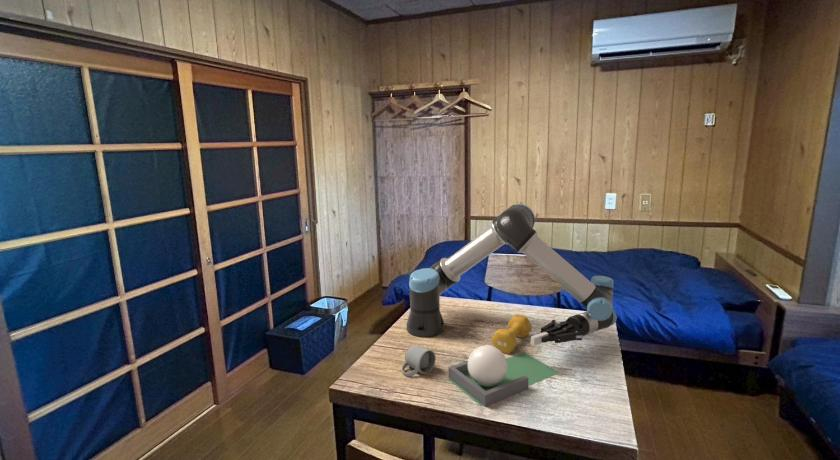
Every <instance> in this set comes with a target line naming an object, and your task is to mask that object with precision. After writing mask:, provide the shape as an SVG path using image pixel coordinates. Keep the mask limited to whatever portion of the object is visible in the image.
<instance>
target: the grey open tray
mask: <svg viewBox="0 0 840 460" xmlns="http://www.w3.org/2000/svg"><path fill="white" fill-rule="evenodd" d="M447 368H448V379H451V380H452V381H454V382H455V383H456V384H457V385H459V386H460V387H461V388H462V389H464V390H465V391H466V392H467V393H469V394H470V395H471V396H472V397H474V398H475V399H476V400H477V401H479V402H480V403H481V404H482V405H481V406H484V407H487V406H490V405H492V404H494V403H497V402H500V401H502V400H504V399H506V398H509V397H511V396H514V395H516V394H517V393H519V394H520V393H521V392H523V391H526V390H528V389H529V386H528V377H526V376H523V377H520V378H518V379H515V380H513V381H510V382H507V383H505V384H502V385H500V386H497V387H495V388H492V389H490V390H487V391H485V390H484V389H482V388H481V387H480V386H478V385H477V384H476V383H474V382H473V381H472V380H470V379H469V378H468V377H466V376H465V374H468V373H469V371H468V360H466V361H462V362H460V363H457V364H454V365H451V366H448V367H447Z"/></svg>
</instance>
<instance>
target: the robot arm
mask: <svg viewBox="0 0 840 460" xmlns="http://www.w3.org/2000/svg"><path fill="white" fill-rule="evenodd" d="M535 221H536V216H535V213H534V212H533V210H532V209H531V208H530V207H529V206H528V205H526V204H523V203H516V204H512V205H511V206H509V207H508V208H507V209H505V210H504V211H502V212H501V213H500V214H499V215H497V216H496V217H495V218H494V219H492V220H491V226H490V227H488V228H486V229H485V230H484V231H483V232H482V233H480V234H479V235H478V236H476V237H475V238H474V239H472V240H471V241H469V242H468V243H466V245H464V246H463V247H461V248H460V249H459V250H457V251H456V252H455V253H454V254H452V255H451V256H449V257H448V258H447V257H442V258H441V259H439V260H438V261H437V262H435V263H433V264H432V265H431V266H430V267H429V268H428V267H425V268H420V269H416V270H414V271H412V273H410V276H409V281H408V286H409V303H410V304H409V305H410V308H409V309H410V311H409V315H408V317H407V321H406V331H407V332H408V333H409V335H412V336H415V337H423V338H426V337H427V338H429V337H434V336H438V335H441V334H442V333H443V332H444V331H445V321H444V318H443V316H442V313H441V310H440V309H441V308H440V302H441V301H440V300H441V299H440V296H441V295H443V294H444V293H445V292H446V291H447V290H448V289H450V288H452V286H454V285H455V284H457V283H459V282H460V280H461V276H462V275H464V274H465V273H467V271H469V270H470V269H471V268H473V267H474V266H476V265H478V264H479V263H480V262H481V261H483V260H484V259H486V258H487V257H488V256H490V255H491V254H493V253H494V252H495V251H497V250H498V249H500V248H501V247H502V246H504V245H508V246H510V247H511V248H512V249H513V250H515V251H516V252H517V253H518V254H520V253H522V254H523V255H524V256H526V257H527V258H528V259H529V260H531V262H533V263H534V264H535V265H536V266H537V267H539V269H541V270H542V271H543V272H544V273H545V274H546V275H548V276H549V277H550V278H551V279H552V280H554V282H556V283H557V285H559V286H561V288H562V289H564V290H565V291H566V292H567V293H569V295H570V296H572V297H573V298H574V299H575V300H576V301H577V302H579V304H581V305H582V306H583V307H585V309H586V311H584V312H580V313H576V314H574V315H571V316H569V317H567V319H566V320H565V321H560V322H557V321H556V320H555V319H552V320H551V321H550V322H549V323H548V324H546V325H544V326H543V327H541V328H540V333H536V334H534V335H531V336H530V345H531V346H534V347H535V346H538V345H541V344H543V343H545V344H546V343H548V342H554V343H555V344H561V343H562V344H563V343H566V342H573V341H582V340H583V337H584V336H587V335H590V334H593V333H595V332H599V331H602V330H604V329H608V328H609V327H612V326H613V325H614V324H616V322H617V319H618V315H617V313H616V310H615V309H614V305H613V299H614V298H613V297H614V296H613V295H614V287H615V286H614V279H613V278H611V277H609V276H605V275H594V276H592V277H591V280H589V279H588V278H587V277H585V276H584V275H583V274H582V273H581V272H580V271H578V270H577V269H576V268H575V267H574V266H573V265H572V264H570V263H569V262H568V261H567V260H566V259H564V258H563V256H561V255H560V254H559V253H558V252H556V250H554V249H553V248H552V247H550V245H548V244H547V243H546V242H545V241H544V240H542V239H541V238H540V237H539V235H538V232H537V231H536V230H535V229H534V225H535V224H536V223H535Z"/></svg>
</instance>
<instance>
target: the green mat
mask: <svg viewBox="0 0 840 460" xmlns="http://www.w3.org/2000/svg"><path fill="white" fill-rule="evenodd" d="M506 361H507V373H506V376H505V378H504V379H503V380H502V381H501V382H500V383H499V384H497V385H495V386H492V387H485V386H482V385H479V384H478V383H476V382H475V381H474V380H473V379H472V378H471V376H470V374H469V373H468V374H465V376H466V377H468V378H469V379H470V380H472V381H473V382H474V383H476V384H477V385H478V386H480V387H481V388H482V389H484V390H485V391H487V390H490V389H492V388H495V387H497V386H500V385H502V384H505V383H507V382H510V381H513V380H515V379H518V378H520V377H523V376H526V377H528V387H529V386H531V385H534V384H536V383H539V382H541V381H544V380H546V379H548V378H549V379H550V378H551V377H553V376H555V375H558V374H560V371H558V370H557V369H555V368H552V366H549V365H547V364H546V363H544V362H542V361H541V360H539V359H537V358H535V357H534V356H532V355H530V354H528V353H526V352H520V353H518V354H515V355H513V356H510V357H507V358H506ZM448 381H449V382H450V383H452V384H453V385H454V386H455V387H456V388H458V389H459V390H460V391H462V392H463V393H464V394H465V395H466V396H468V397H469V398H470V399H472V400H473V401H474V402H475V403H476V404H478V405H479V406H480V407H481V406H483V405H482V404H481V403H480V402H479V401H477V400H476V399H475V398H474V397H472V396H471V395H470V394H469V393H467V392H466V391H465V390H464V389H462V388H461V387H460V386H459V385H457V384H456V383H455V382H454V381H452V380H451V379H450V378H448Z"/></svg>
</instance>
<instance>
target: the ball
mask: <svg viewBox="0 0 840 460" xmlns="http://www.w3.org/2000/svg"><path fill="white" fill-rule="evenodd" d="M506 359H507V358H506V356H505V353H502V352H501V351H500V350H499V349H497V348H496V347H494V345H489V344H488V345H487V344H485V345H481V346H478V347H476V348H474V350H472V351H471V353H470V355H469V356H468V360H467V361H468V371H469V374H470V376H471V378H472V379H473V380H474V381H475V382H476V383H478V384H479V385H482V386H485V387H492V386H495V385H497V384H499V383H500V382H501V381H502V380H503V379H504V378H505V376H506V373H507V361H506Z"/></svg>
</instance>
